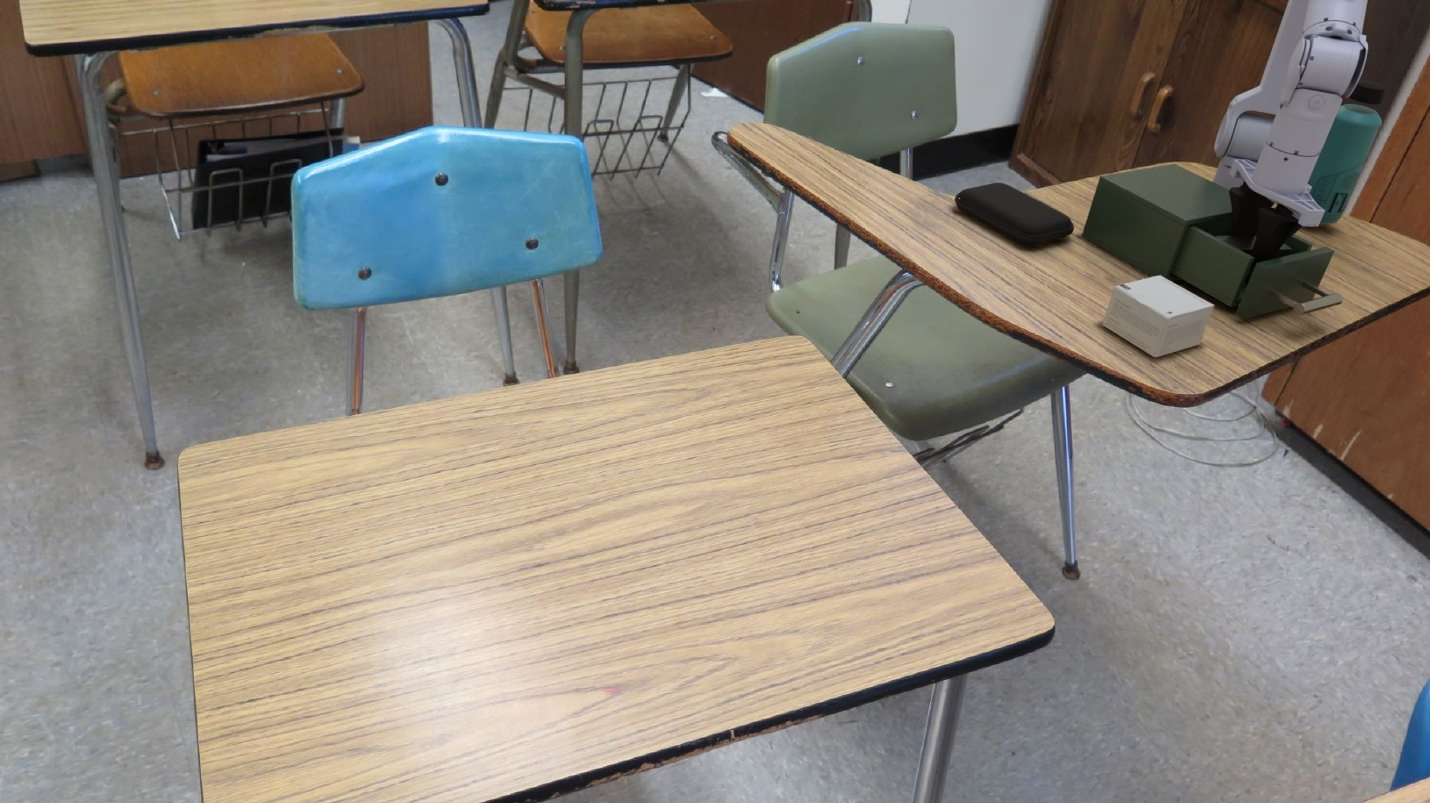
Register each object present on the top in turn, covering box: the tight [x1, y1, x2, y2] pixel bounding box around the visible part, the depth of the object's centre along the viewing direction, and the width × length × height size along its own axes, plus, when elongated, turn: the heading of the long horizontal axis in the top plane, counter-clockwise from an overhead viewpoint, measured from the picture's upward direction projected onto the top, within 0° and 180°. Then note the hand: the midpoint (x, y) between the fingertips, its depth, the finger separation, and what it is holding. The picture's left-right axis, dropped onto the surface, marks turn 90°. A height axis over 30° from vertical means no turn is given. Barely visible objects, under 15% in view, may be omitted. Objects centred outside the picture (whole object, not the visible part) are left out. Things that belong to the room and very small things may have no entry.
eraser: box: [1215, 236, 1292, 273], centre depth 128 cm, size 8×4×3 cm, turn 101°
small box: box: [1102, 275, 1215, 358], centre depth 119 cm, size 8×8×5 cm
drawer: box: [1171, 216, 1344, 320], centre depth 128 cm, size 18×13×7 cm
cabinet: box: [1081, 163, 1232, 283], centre depth 137 cm, size 14×14×8 cm
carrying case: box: [954, 182, 1075, 248], centre depth 142 cm, size 11×3×15 cm
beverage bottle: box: [1307, 79, 1387, 225], centre depth 146 cm, size 6×7×20 cm
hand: (1248, 256), depth 129 cm, fingers closed on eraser, 3 cm apart
